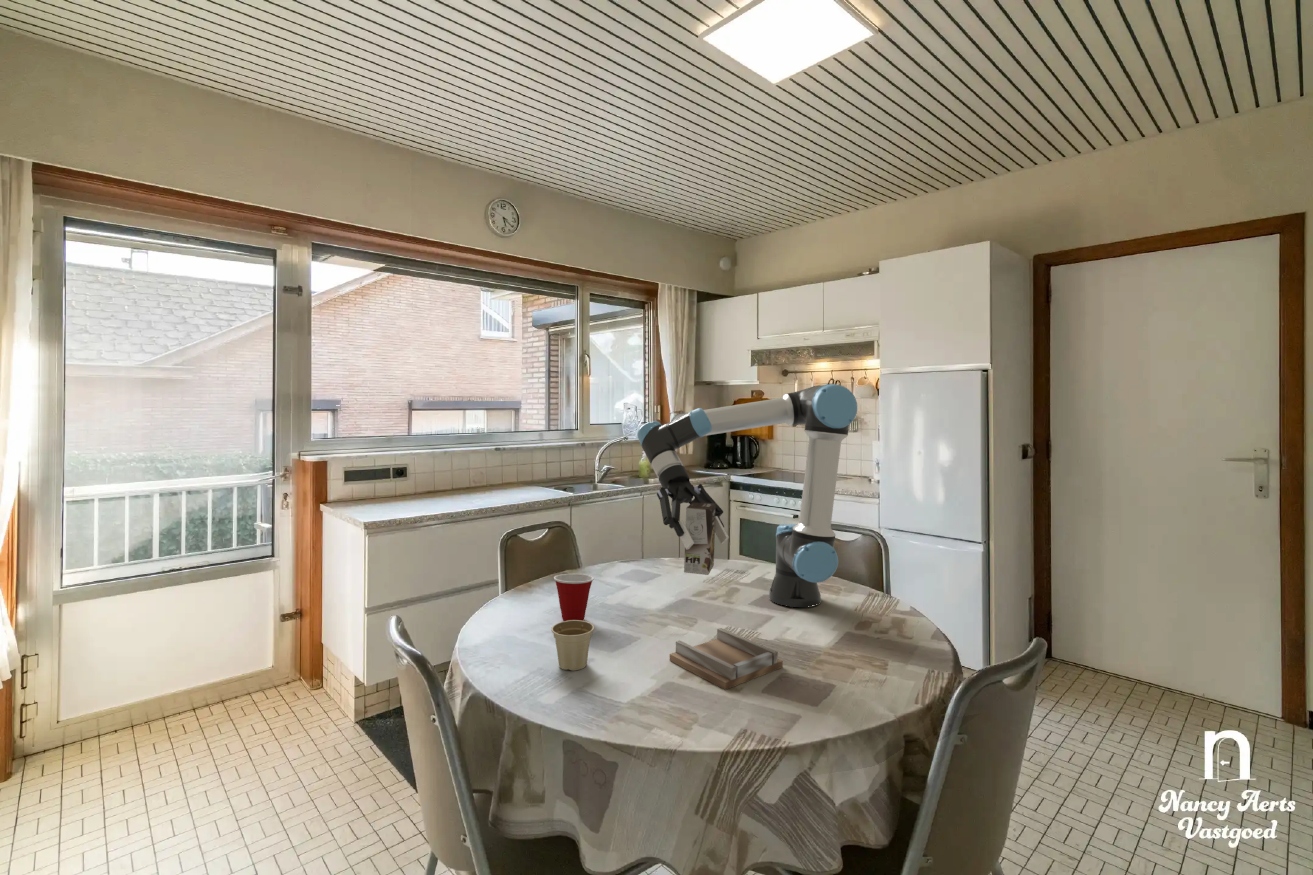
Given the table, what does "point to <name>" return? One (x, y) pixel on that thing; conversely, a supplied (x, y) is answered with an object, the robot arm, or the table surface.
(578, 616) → the plastic cup
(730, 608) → the table surface
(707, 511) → the coffee box
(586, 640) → the flower pot
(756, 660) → the rail holder
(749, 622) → the table surface
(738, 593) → the table surface
